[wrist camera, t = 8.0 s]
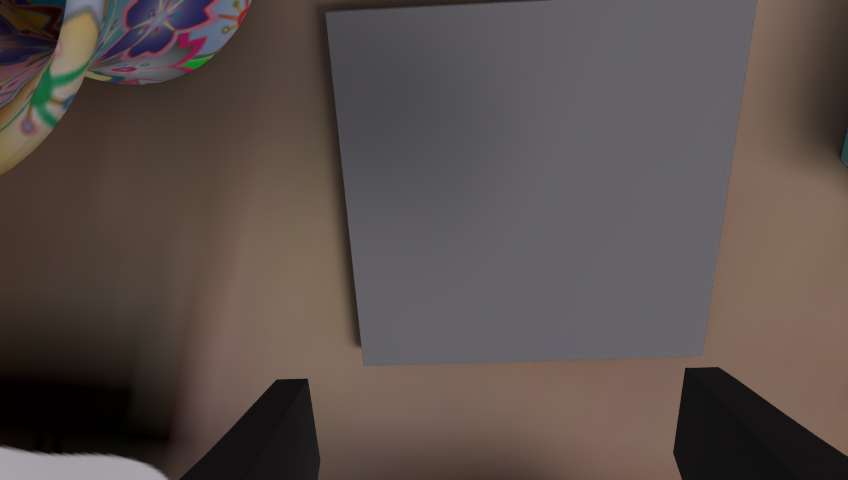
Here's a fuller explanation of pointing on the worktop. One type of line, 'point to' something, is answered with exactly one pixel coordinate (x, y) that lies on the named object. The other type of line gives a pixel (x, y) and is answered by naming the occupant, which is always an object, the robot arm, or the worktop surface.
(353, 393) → the worktop surface
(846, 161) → the bowl
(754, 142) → the worktop surface
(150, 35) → the mug
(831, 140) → the worktop surface
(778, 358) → the worktop surface
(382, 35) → the mat
